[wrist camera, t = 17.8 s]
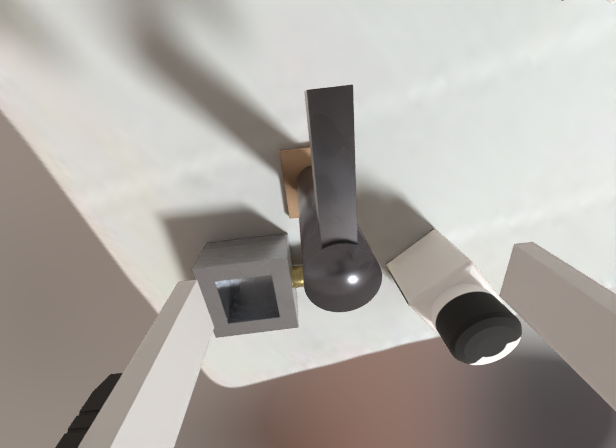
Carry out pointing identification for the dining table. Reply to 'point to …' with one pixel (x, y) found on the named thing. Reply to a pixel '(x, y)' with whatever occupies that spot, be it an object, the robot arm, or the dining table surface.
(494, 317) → the medicine bottle
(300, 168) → the copper plate
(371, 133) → the dining table surface
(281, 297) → the block
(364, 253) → the chuck key
